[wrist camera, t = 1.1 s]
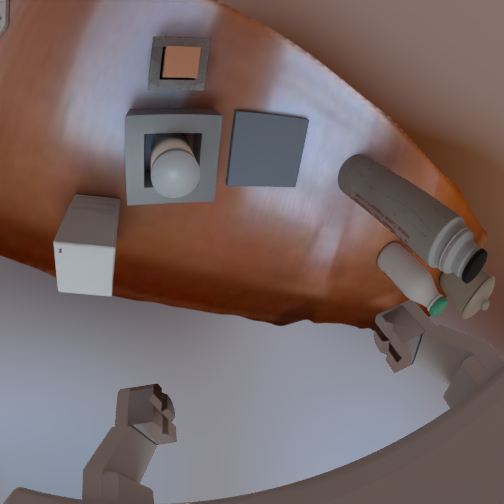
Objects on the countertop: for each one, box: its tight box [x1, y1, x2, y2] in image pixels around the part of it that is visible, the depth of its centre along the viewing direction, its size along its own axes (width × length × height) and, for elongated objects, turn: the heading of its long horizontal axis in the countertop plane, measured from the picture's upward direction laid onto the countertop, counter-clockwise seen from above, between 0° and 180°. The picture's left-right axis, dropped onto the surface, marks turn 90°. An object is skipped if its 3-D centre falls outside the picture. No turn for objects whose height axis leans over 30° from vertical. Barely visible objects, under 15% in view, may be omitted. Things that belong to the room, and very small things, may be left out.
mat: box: [226, 111, 309, 187], centre depth 40 cm, size 11×11×1 cm
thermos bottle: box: [338, 155, 487, 284], centre depth 38 cm, size 8×8×28 cm
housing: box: [125, 108, 223, 206], centre depth 34 cm, size 11×11×6 cm
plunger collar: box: [148, 37, 211, 91], centre depth 28 cm, size 6×6×5 cm
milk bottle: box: [377, 242, 448, 317], centre depth 57 cm, size 8×8×20 cm
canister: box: [440, 269, 495, 319], centre depth 76 cm, size 18×18×21 cm
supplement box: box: [54, 194, 121, 296], centre depth 33 cm, size 7×7×13 cm
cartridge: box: [151, 133, 200, 198], centre depth 32 cm, size 5×5×11 cm
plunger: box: [162, 46, 201, 78], centre depth 25 cm, size 3×3×6 cm
